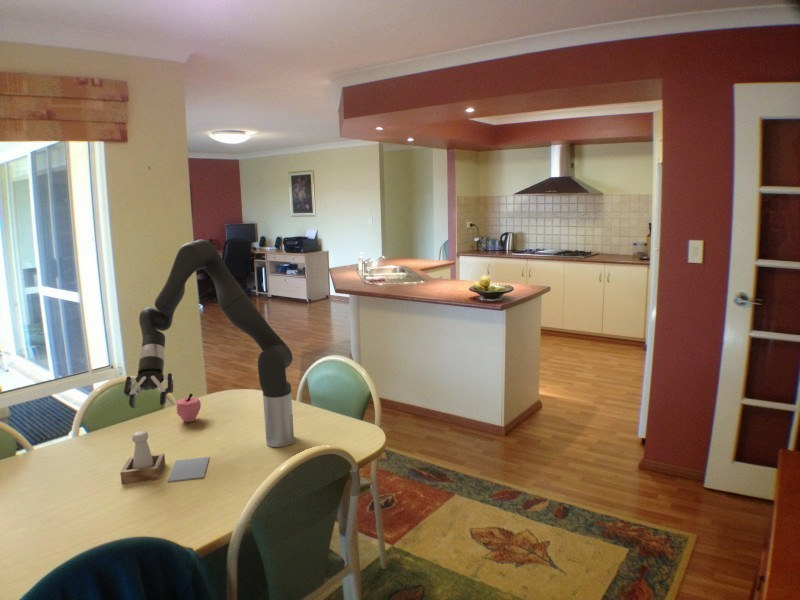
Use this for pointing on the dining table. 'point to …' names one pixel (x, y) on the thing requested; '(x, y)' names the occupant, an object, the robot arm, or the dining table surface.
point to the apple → (188, 408)
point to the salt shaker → (141, 451)
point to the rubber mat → (189, 469)
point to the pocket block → (143, 470)
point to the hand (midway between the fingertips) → (147, 405)
